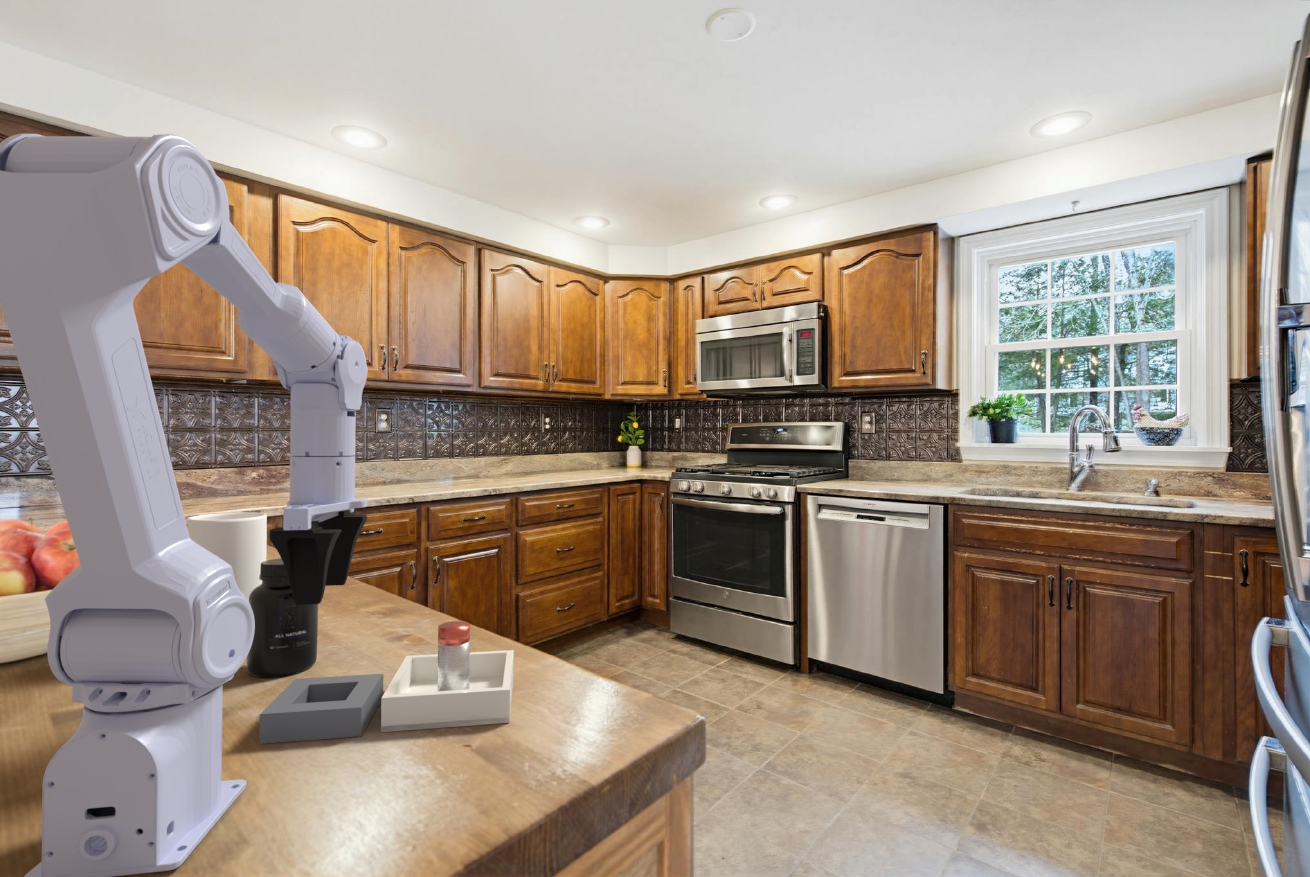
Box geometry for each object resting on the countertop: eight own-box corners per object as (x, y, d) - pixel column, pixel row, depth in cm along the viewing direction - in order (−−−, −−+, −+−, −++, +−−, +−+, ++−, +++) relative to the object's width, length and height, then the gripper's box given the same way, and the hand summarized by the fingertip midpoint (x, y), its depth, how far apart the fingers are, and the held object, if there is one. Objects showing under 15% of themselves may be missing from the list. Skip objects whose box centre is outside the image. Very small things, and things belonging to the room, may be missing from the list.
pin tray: (509, 722, 57) (509, 689, 57) (381, 732, 55) (381, 697, 55) (513, 677, 68) (513, 649, 68) (406, 684, 66) (406, 655, 66)
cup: (258, 650, 76) (259, 518, 76) (176, 658, 73) (177, 521, 73) (271, 631, 84) (272, 511, 84) (197, 637, 81) (199, 513, 81)
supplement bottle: (285, 681, 67) (286, 568, 67) (231, 676, 68) (232, 565, 68) (331, 659, 73) (332, 556, 73) (281, 655, 75) (282, 554, 75)
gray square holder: (361, 736, 55) (361, 707, 55) (259, 743, 53) (260, 713, 53) (383, 698, 62) (383, 673, 62) (295, 704, 61) (295, 678, 61)
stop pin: (468, 702, 61) (469, 629, 61) (435, 704, 60) (436, 631, 60) (470, 689, 64) (471, 620, 63) (439, 691, 63) (440, 621, 63)
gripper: (345, 458, 56) (343, 611, 56) (383, 454, 70) (382, 576, 70) (257, 458, 55) (256, 614, 55) (315, 454, 69) (313, 578, 69)
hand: (322, 593), depth 62 cm, fingers open, 7 cm apart
